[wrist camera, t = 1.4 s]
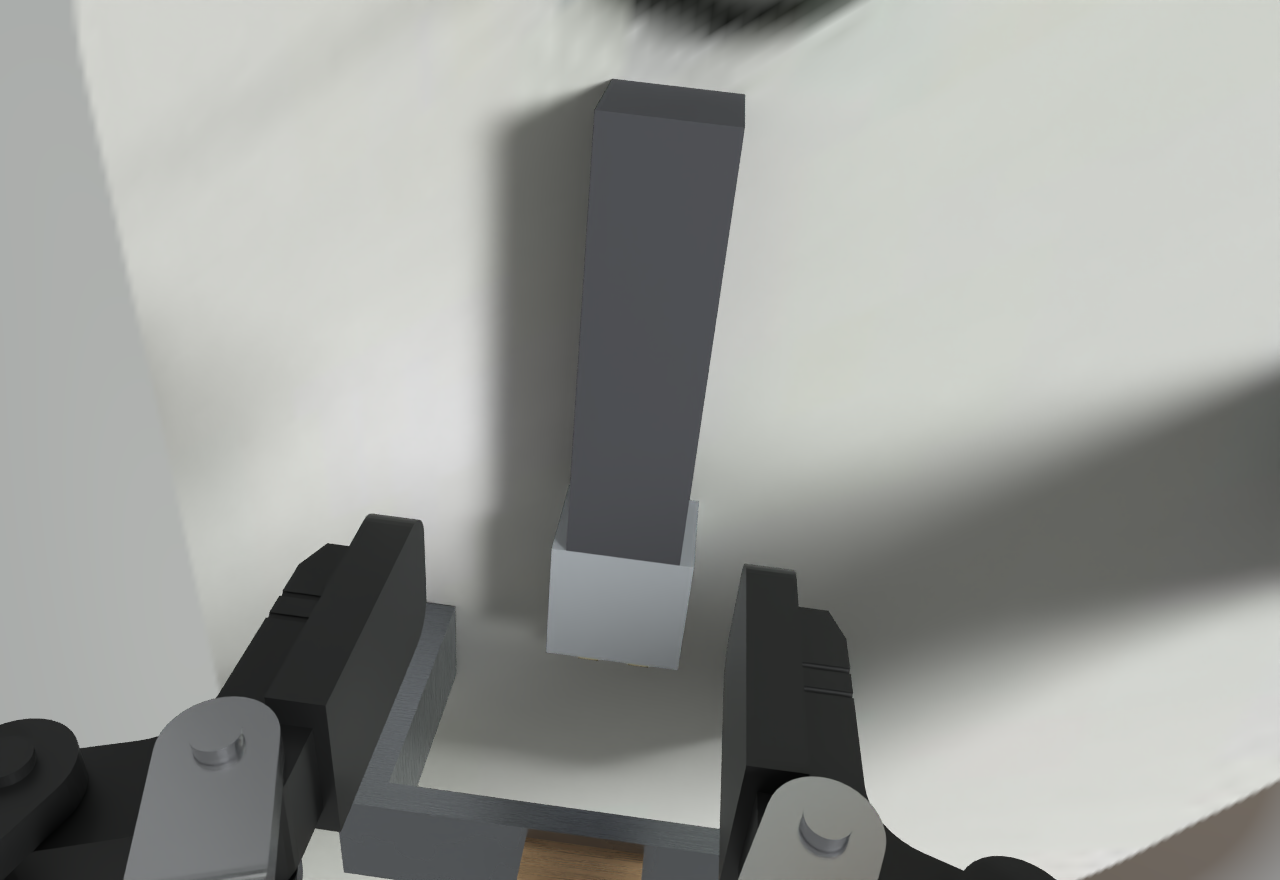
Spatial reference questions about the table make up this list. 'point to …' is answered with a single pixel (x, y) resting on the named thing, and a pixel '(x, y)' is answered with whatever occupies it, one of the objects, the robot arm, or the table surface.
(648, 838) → the u-shaped bracket
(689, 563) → the grey two-tone block
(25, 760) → the robot arm
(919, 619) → the table surface
